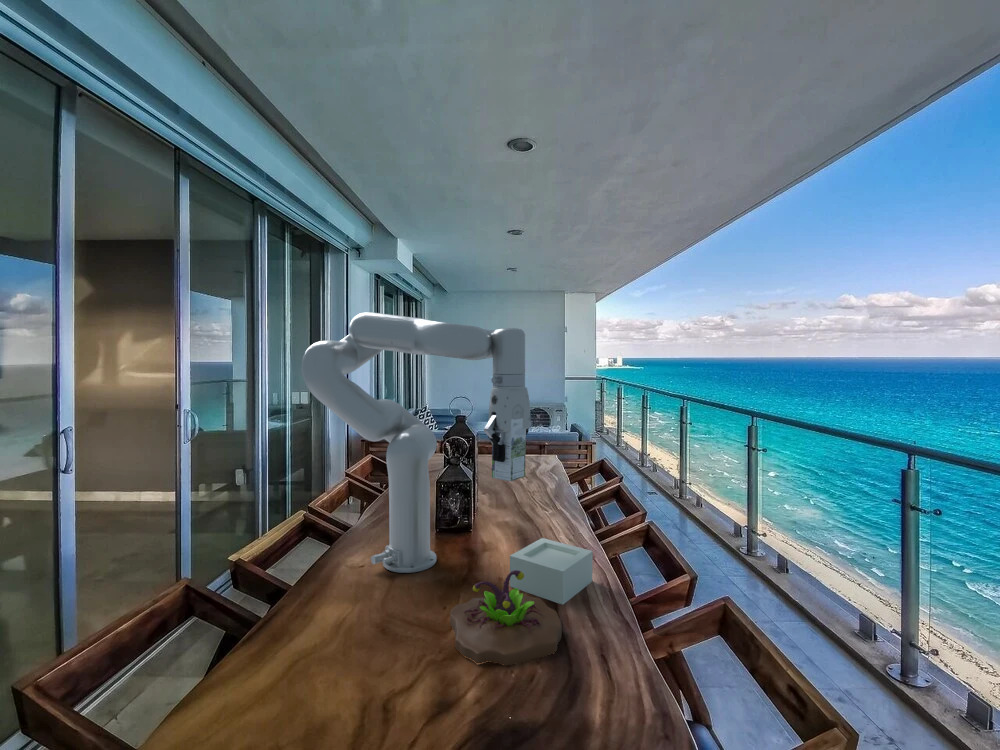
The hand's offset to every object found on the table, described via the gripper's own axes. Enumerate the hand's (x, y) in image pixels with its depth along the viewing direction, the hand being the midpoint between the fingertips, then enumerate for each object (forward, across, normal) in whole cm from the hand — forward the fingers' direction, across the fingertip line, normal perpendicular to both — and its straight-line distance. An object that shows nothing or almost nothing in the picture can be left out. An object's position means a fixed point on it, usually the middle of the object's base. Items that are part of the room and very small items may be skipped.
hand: (508, 458), depth 117 cm
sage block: (+26, 0, -13) cm, 29 cm away
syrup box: (+5, 0, 0) cm, 5 cm away
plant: (+26, -21, -18) cm, 38 cm away
